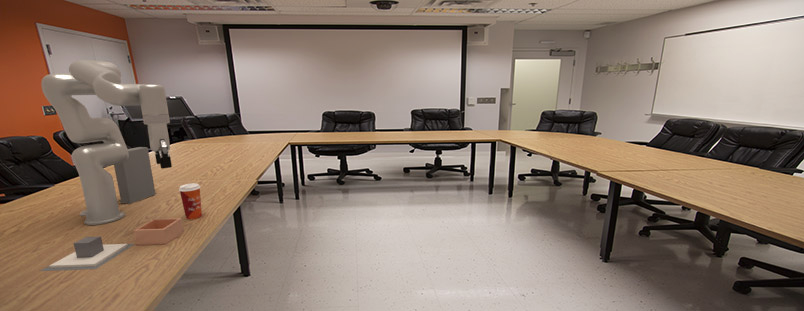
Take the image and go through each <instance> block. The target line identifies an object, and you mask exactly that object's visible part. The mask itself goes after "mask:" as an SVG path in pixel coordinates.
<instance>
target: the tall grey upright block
mask: <svg viewBox="0 0 804 311" xmlns="http://www.w3.org/2000/svg"><path fill="white" fill-rule="evenodd" d="M127 149H128V153H129V157H128V159H127V161H125V162H123V163H120V164H115V165H113V167H114V173H115V178H116V183H117V188H118V193H119V198H120V199H119V204H129V205H131V204H133V203H135V202H138V201H139V202H140V201H142V200H144V199H146V198H149V197H152V196H155V195H157V192H156V189H155V182H154V177H153V172H152V171H153V170H152V165H151V160H150V155H149V148H148V147H145V146H144V147H143V146H138V147H133V148H127Z"/></svg>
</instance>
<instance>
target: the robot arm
mask: <svg viewBox="0 0 804 311" xmlns="http://www.w3.org/2000/svg"><path fill="white" fill-rule="evenodd" d="M121 77H122V74H121V70H120V68H119V67H118V66H117V65H116V64H115V63H114V62H113V63H112V62H110V61H104V60H92V59H91V60H89V59H80V60H75V61H73V62H71V63H70V64H69V66H68V72H54V73H50V74H47V75H45V76H44V77H43V78H42V79H41V83H40V84H41V89H42V90H41V91H42V93H43V95H44V97H45V98H46V100H47V101H48V103H49V104H50V105H51V106H52V107H53V109H54V110H55V111H56V114H57V116H58V118H59V121H60V122H61V125H62V127H63V129H64V131H65V133H66V136H67V137H68V139H69V140H70V141H71V143H75V144H85V143H86V144H88V143H95V142H103V143H96V144H88V145H83V146H80V147H77V148H76V149H74V150H73V151H72V153H71V160H72V163H73V164H74V166H75V168H76V171H77V173H78V176H79V180H80V184H81V189H82V192H83V197H84V202H85V207H86V209H83V210H81V212H79V217H85V219H84V221H83V222H84V225H87V226H95V225H96V226H97V225H99V226H100V225H104V224H108V223H113V222H115V221H118V220H120V219H122V218H124V217H125V215H126V213H125V212H124V211H121V210H120V209H119V208H120V207H119V204H118V198H117V192H116V186H115V182H114V179H113V176H112V174H111V173H110V172H108V171H107V170H106V169H104V168H106V167H109V166H114V165H115V164H120V163H123V162H125V161H127V159H128V157H129V153H128V149H129V148H128V147H127V145H126V143H125V140H124V138H123V135H122V132H121V130H120V128H119V126H118V125H117V123H116V122H115V121H114V120H113V119H111V118H108V117H91V116H90V114H89V112H88V109H87V108H86V106H85V105H84V104H83V103H81V102H80V100H77V99H76V98H74V97H73V96H97V98H98V99H99V100H101V101H103V102H105V103H108V104H110V105H113V106H116V107H117V106H119V107H127V106H140V108H141V114H142V120H143V124H144V125H147V134H148V139H149V146H150V148H149V149H150V150H151V151H152V152H154V156H155V162H156V164H157V165H160V169H162V170H163V169H169V168H173V166H172V165H173V164H172V161H171V160H172V159H171V156H170V155H171V154H170V152H169V151H170V149H171V146H170V145H171V144H170V137H169V132H168V124H170V123H171V121H170V120H171V119H170V115H169V108H168V102H167V95H166V89H165V87H164V86H163V85H162V84H153V83H151V84H150V83H149V84H145V83H144V84H143V83H122V79H121Z"/></svg>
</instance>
